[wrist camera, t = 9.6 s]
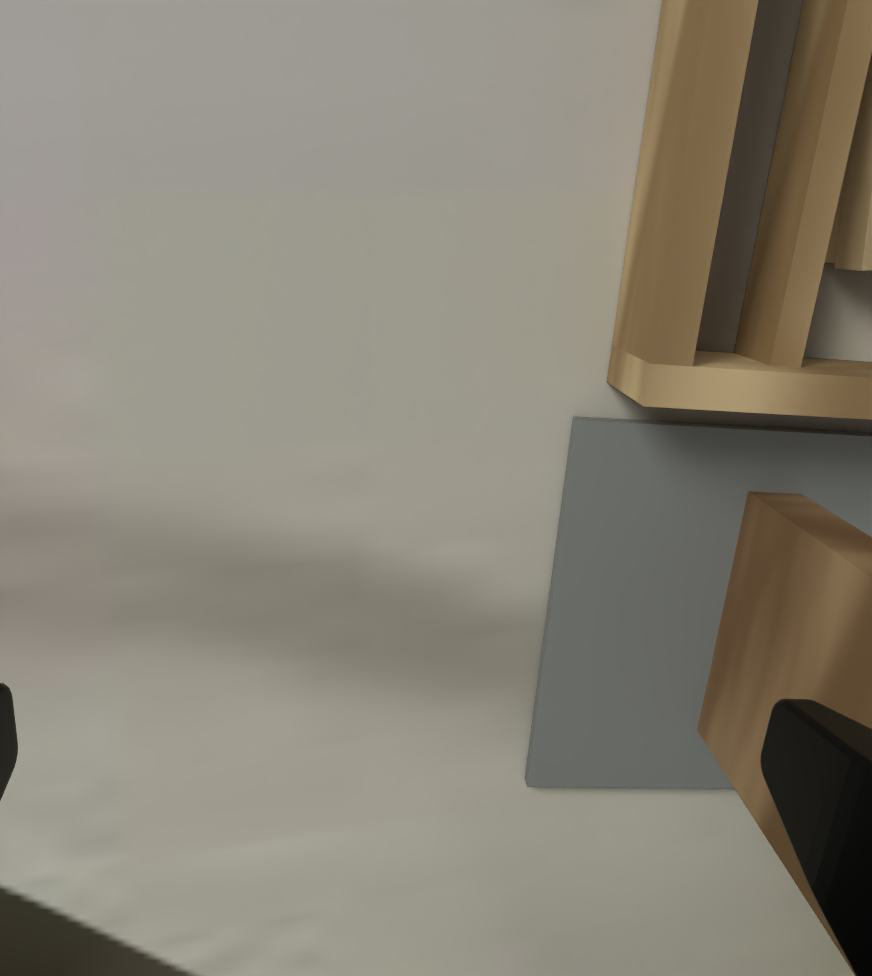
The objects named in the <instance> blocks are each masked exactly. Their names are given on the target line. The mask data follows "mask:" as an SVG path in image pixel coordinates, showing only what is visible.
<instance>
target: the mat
mask: <svg viewBox="0 0 872 976" xmlns="http://www.w3.org/2000/svg"><path fill="white" fill-rule="evenodd" d="M748 491H751V492H772V493H794V494H803V495H804V496H806V497H807V498H809V499H811V500H812V501H814V502H816V503H817V504H819V505H820V506H822V507H824V508H825V509H827V510H829V511H830V512H832V513H833V514H835V515H837V516H838V517H840V518H841V519H843V520H845V521H846V522H848V523H850V524H851V525H853V526H854V527H856V528H858V529H859V530H861V531H862V532H864V533H866V534H867V535H869V536H871V537H872V433H858V432H840V431H822V430H804V429H786V428H768V427H750V426H733V425H715V424H697V423H679V422H661V421H643V420H625V419H608V418H590V417H573V421H572V429H571V436H570V444H569V451H568V459H567V466H566V474H565V481H564V489H563V496H562V504H561V511H560V519H559V526H558V534H557V541H556V549H555V556H554V563H553V571H552V578H551V586H550V593H549V601H548V608H547V616H546V623H545V631H544V638H543V646H542V653H541V661H540V668H539V676H538V683H537V691H536V698H535V705H534V713H533V720H532V728H531V735H530V743H529V750H528V758H527V765H526V773H525V781H526V785H527V787H602V788H729V789H734V787H733V785H732V784H731V782H730V781H729V779H728V778H727V776H726V775H725V773H724V771H723V770H722V768H721V767H720V765H719V764H718V762H717V761H716V759H715V758H714V756H713V754H712V753H711V751H710V750H709V748H708V747H707V745H706V744H705V742H704V740H703V739H702V737H701V736H700V734H699V733H698V731H697V728H698V724H699V719H700V714H701V710H702V705H703V700H704V696H705V691H706V686H707V682H708V677H709V672H710V667H711V663H712V658H713V653H714V649H715V644H716V639H717V635H718V630H719V625H720V621H721V616H722V611H723V607H724V602H725V597H726V593H727V588H728V583H729V578H730V574H731V569H732V564H733V560H734V555H735V550H736V546H737V541H738V536H739V532H740V527H741V522H742V518H743V513H744V508H745V503H746V499H747V494H748Z"/></svg>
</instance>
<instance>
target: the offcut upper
mask: <svg viewBox="0 0 872 976" xmlns="http://www.w3.org/2000/svg"><path fill="white" fill-rule="evenodd" d="M834 268H837V269H848V270H859V271H866V270H872V53H871V58H870V62H869V67H868V71H867V76H866V80H865V85H864V89H863V93H862V98H861V102H860V107H859V111H858V116H857V120H856V125H855V129H854V133H853V138H852V142H851V147H850V151H849V156H848V160H847V165H846V173H845V182H844V191H843V200H842V208H841V217H840V226H839V234H838V243H837V252H836V261H835V267H834Z"/></svg>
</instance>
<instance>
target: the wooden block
mask: <svg viewBox="0 0 872 976" xmlns="http://www.w3.org/2000/svg"><path fill="white" fill-rule="evenodd" d="M780 699H809V700H814V701H816V702H818V703H820V704H822V705H824V706H826V707H828V708H830V709H832V710H834V711H836V712H838V713H840V714H842V715H844V716H847V717H849V718H851V719H853V720H855V721H857V722H859V723H861V724H863V725H865V726H867V727H869V728H871V729H872V537H871V536H869V535H867V534H866V533H864V532H862V531H861V530H859V529H858V528H856V527H854V526H853V525H851V524H850V523H848V522H846V521H845V520H843V519H841V518H840V517H838V516H837V515H835V514H833V513H832V512H830V511H829V510H827V509H825V508H824V507H822V506H820V505H819V504H817V503H816V502H814V501H812V500H811V499H809V498H807V497H806V496H804V495H803V494H794V493H772V492H751V491H748V494H747V499H746V503H745V508H744V513H743V518H742V522H741V527H740V532H739V536H738V541H737V546H736V550H735V555H734V560H733V564H732V569H731V574H730V578H729V583H728V588H727V593H726V597H725V602H724V607H723V611H722V616H721V621H720V625H719V630H718V635H717V639H716V644H715V649H714V653H713V658H712V663H711V667H710V672H709V677H708V682H707V686H706V691H705V696H704V700H703V705H702V710H701V714H700V719H699V724H698V728H697V731H698V733H699V734H700V736H701V737H702V739H703V740H704V742H705V744H706V745H707V747H708V748H709V750H710V751H711V753H712V754H713V756H714V758H715V759H716V761H717V762H718V764H719V765H720V767H721V768H722V770H723V771H724V773H725V775H726V776H727V778H728V779H729V781H730V782H731V784H732V785H733V787H734V789H735V790H736V792H737V793H738V795H739V796H740V798H741V799H742V801H743V802H744V804H745V806H746V807H747V809H748V810H749V812H750V813H751V815H752V816H753V818H754V819H755V821H756V823H757V824H758V826H759V827H760V829H761V830H762V832H763V833H764V835H765V837H766V838H767V840H768V841H769V843H770V844H771V846H772V847H773V849H774V850H775V852H776V854H777V855H778V857H779V858H780V860H781V861H782V863H783V864H784V866H785V868H786V869H787V871H788V872H789V874H790V875H791V877H792V878H793V880H794V881H795V883H796V885H797V886H798V888H799V889H800V891H801V892H802V894H803V895H804V897H805V899H806V900H807V902H808V903H809V905H810V906H811V908H812V909H813V911H814V912H815V914H816V916H817V917H818V919H819V920H820V922H821V923H822V925H823V926H824V928H825V930H826V931H827V933H828V934H829V936H830V937H831V939H832V940H833V942H834V943H835V945H836V947H837V948H838V950H839V951H840V953H841V954H842V956H843V957H844V959H845V961H846V962H847V964H848V965H849V967H850V968H851V970H852V971H853V969H852V967H851V965H850V963H849V962H848V960H847V958H846V956H845V954H844V952H843V950H842V948H841V947H840V945H839V943H838V941H837V939H836V937H835V935H834V933H833V932H832V930H831V928H830V926H829V924H828V922H827V920H826V919H825V917H824V915H823V913H822V911H821V909H820V907H819V905H818V903H817V901H816V899H815V897H814V895H813V893H812V891H811V889H810V887H809V884H808V882H807V880H806V878H805V876H804V873H803V871H802V869H801V866H800V864H799V861H798V859H797V857H796V854H795V852H794V849H793V847H792V845H791V842H790V840H789V837H788V835H787V833H786V830H785V828H784V825H783V823H782V821H781V818H780V816H779V813H778V811H777V809H776V806H775V804H774V801H773V799H772V797H771V794H770V792H769V789H768V787H767V785H766V782H765V780H764V777H763V774H762V770H761V763H760V758H761V751H762V747H763V743H764V739H765V735H766V731H767V727H768V723H769V719H770V715H771V711H772V708H773V706H774V704H775V703H776V702H777V701H779V700H780ZM853 973H854V971H853ZM854 974H855V973H854ZM855 976H856V975H855Z"/></svg>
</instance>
